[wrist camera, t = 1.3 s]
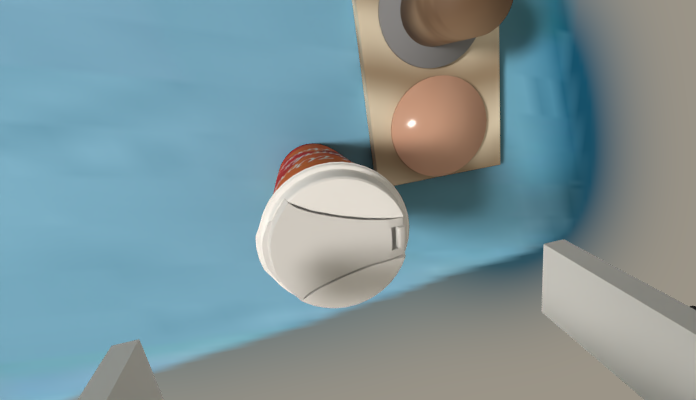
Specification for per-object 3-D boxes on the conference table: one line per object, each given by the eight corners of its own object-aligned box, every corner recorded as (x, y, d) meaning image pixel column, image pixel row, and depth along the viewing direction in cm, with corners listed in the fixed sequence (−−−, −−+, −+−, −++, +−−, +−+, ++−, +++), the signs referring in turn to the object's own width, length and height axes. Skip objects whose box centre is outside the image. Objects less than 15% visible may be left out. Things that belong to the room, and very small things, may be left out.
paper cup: (354, 125, 30) (416, 158, 17) (360, 213, 32) (419, 303, 19) (257, 135, 29) (240, 179, 15) (271, 225, 31) (267, 330, 18)
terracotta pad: (385, 83, 28) (387, 84, 28) (482, 68, 29) (485, 67, 29) (396, 182, 31) (398, 184, 30) (484, 165, 32) (487, 166, 31)
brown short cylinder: (396, -26, 25) (431, -57, 20) (463, -34, 26) (515, -66, 20) (403, 51, 27) (437, 43, 21) (466, 41, 28) (515, 31, 22)
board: (346, -41, 26) (350, -47, 25) (489, -58, 27) (498, -64, 26) (375, 184, 32) (379, 188, 30) (492, 161, 33) (500, 164, 32)
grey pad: (371, -46, 25) (373, -48, 25) (479, -58, 26) (482, -61, 26) (384, 75, 28) (386, 75, 27) (481, 60, 29) (485, 59, 28)
